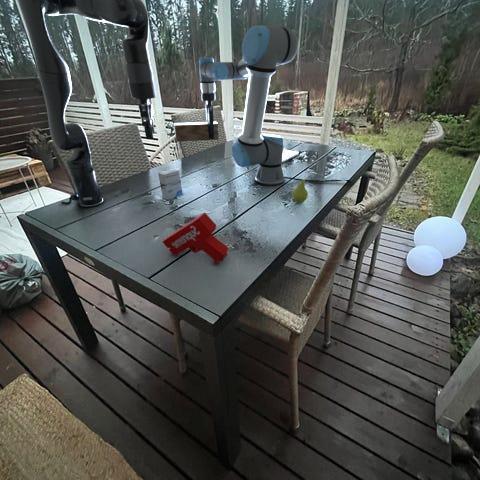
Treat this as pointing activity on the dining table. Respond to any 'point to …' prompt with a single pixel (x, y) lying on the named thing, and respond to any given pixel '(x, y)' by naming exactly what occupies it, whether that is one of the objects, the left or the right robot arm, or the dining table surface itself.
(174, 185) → the ink box
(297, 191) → the fruit
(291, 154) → the white printed flat box
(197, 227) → the toy gun
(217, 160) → the dining table surface
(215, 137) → the bar
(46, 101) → the left robot arm
